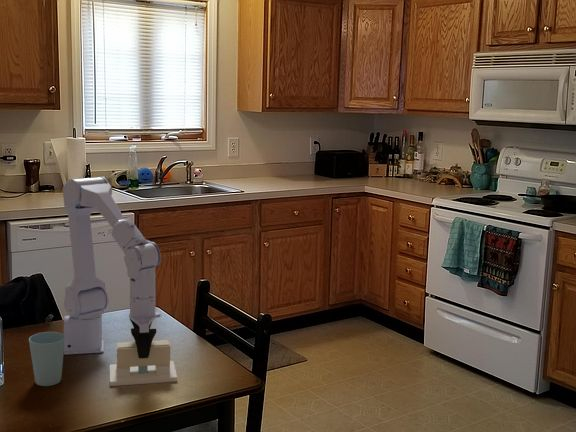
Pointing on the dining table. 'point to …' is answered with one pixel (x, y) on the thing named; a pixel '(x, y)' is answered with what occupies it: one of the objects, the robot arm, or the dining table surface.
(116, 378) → the display stand
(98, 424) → the dining table surface
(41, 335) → the cup
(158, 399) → the dining table surface
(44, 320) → the dining table surface
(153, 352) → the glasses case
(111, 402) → the dining table surface
